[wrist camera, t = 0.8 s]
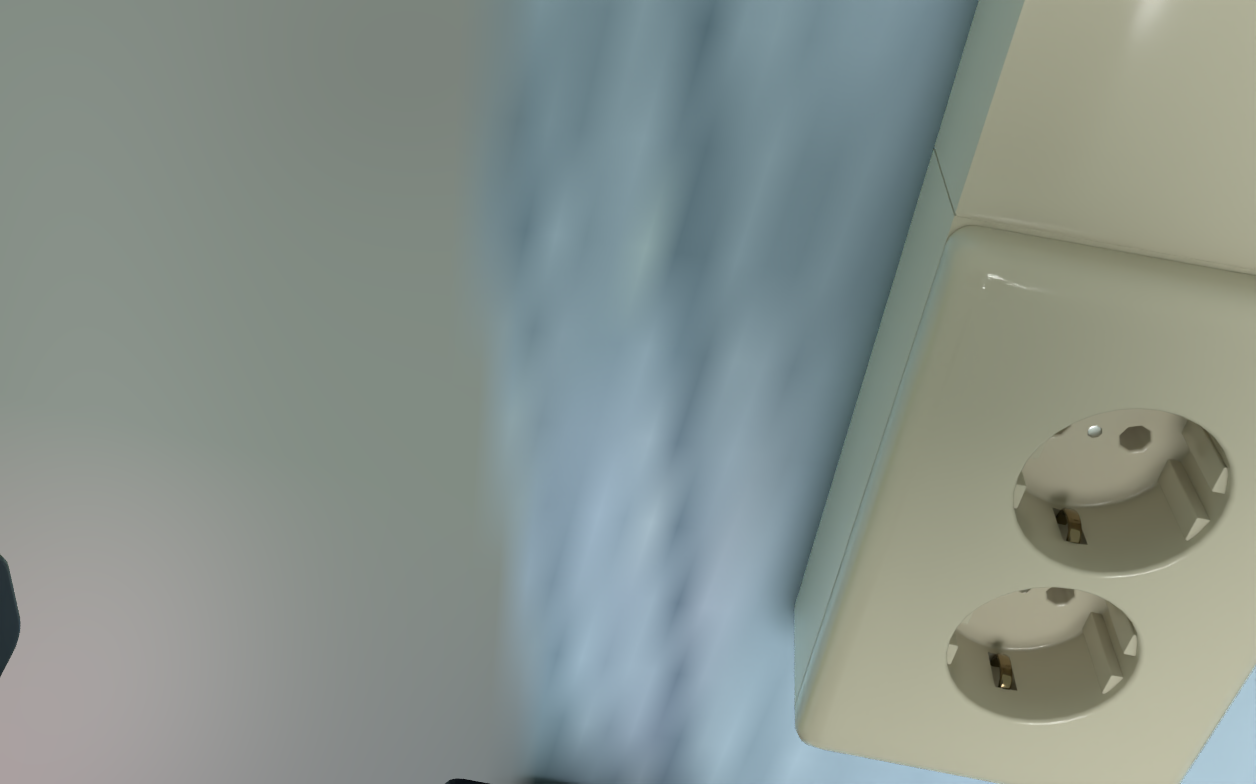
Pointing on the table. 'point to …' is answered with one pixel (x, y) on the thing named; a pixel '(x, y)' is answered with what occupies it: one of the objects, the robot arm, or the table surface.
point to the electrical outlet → (1056, 417)
